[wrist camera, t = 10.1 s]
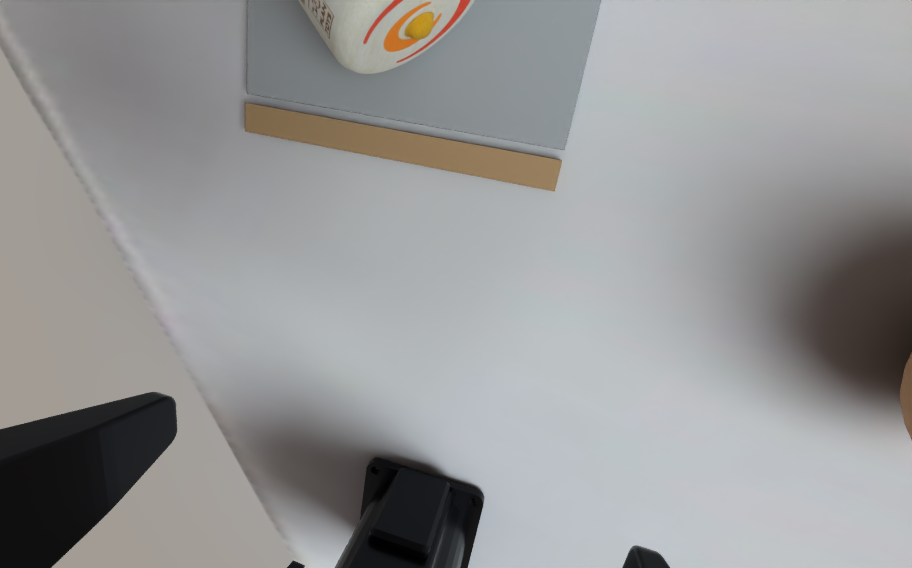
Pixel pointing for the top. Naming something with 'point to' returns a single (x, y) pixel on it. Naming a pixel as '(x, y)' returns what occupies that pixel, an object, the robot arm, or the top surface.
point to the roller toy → (382, 29)
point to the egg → (907, 395)
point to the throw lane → (432, 87)
